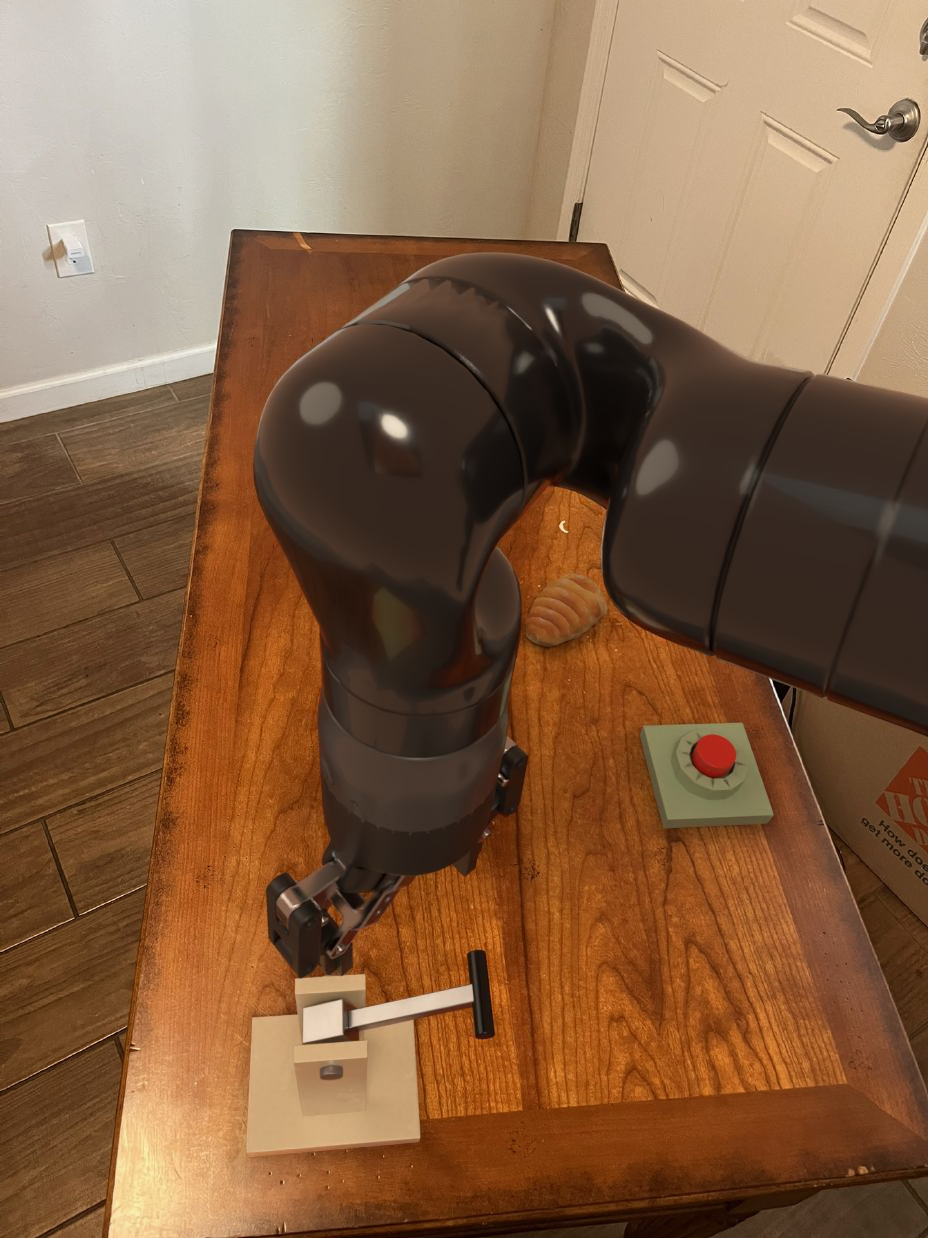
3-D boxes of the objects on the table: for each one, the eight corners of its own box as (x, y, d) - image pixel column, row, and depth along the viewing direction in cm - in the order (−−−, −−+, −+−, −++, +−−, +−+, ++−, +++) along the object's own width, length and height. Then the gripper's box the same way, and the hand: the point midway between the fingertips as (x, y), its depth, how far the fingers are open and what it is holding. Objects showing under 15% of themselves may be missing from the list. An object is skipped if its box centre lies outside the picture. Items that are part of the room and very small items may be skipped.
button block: (767, 824, 86) (781, 805, 84) (662, 828, 85) (672, 809, 82) (737, 731, 93) (748, 711, 90) (639, 735, 91) (647, 714, 89)
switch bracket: (412, 1012, 73) (422, 939, 61) (419, 1142, 67) (433, 1088, 56) (253, 1023, 71) (235, 950, 60) (247, 1157, 65) (225, 1105, 54)
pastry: (559, 665, 96) (565, 641, 93) (507, 629, 98) (511, 606, 95) (609, 614, 101) (616, 590, 98) (558, 582, 103) (564, 558, 101)
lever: (491, 956, 59) (479, 944, 58) (500, 1040, 56) (488, 1030, 55) (319, 995, 62) (302, 985, 60) (319, 1077, 59) (301, 1068, 57)
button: (735, 777, 85) (741, 767, 84) (697, 778, 85) (702, 768, 84) (724, 743, 88) (730, 733, 86) (687, 744, 87) (692, 734, 86)
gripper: (325, 921, 33) (334, 1055, 46) (595, 714, 40) (540, 879, 53) (209, 778, 37) (247, 939, 49) (477, 609, 44) (451, 787, 56)
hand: (398, 907), depth 51 cm, fingers open, 8 cm apart
